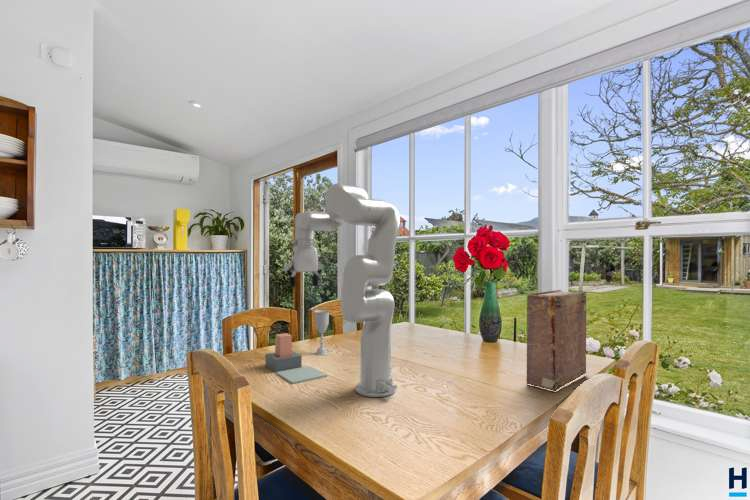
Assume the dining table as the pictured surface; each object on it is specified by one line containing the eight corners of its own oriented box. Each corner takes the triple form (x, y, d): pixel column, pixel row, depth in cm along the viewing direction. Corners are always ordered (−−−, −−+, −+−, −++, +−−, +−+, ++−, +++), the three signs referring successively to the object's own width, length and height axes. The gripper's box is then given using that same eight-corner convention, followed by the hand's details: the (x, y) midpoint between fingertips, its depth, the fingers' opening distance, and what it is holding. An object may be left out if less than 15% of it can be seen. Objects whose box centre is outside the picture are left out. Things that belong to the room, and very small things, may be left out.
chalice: (328, 355, 159) (328, 312, 159) (312, 355, 159) (312, 312, 160) (330, 351, 167) (331, 310, 167) (315, 351, 167) (315, 309, 167)
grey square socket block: (301, 367, 143) (301, 355, 143) (276, 372, 137) (276, 359, 137) (289, 361, 151) (290, 350, 151) (265, 365, 145) (265, 353, 145)
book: (559, 370, 142) (560, 289, 142) (586, 376, 135) (586, 291, 136) (526, 385, 125) (526, 294, 126) (554, 393, 119) (555, 296, 119)
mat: (327, 376, 133) (327, 374, 133) (292, 384, 125) (292, 382, 125) (309, 367, 143) (309, 365, 143) (276, 373, 135) (276, 372, 135)
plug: (291, 367, 143) (291, 335, 144) (280, 369, 141) (280, 336, 141) (286, 364, 147) (286, 333, 147) (275, 366, 144) (275, 334, 144)
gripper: (288, 243, 146) (287, 288, 146) (328, 244, 156) (327, 286, 156) (280, 243, 152) (279, 286, 152) (319, 244, 162) (318, 284, 162)
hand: (304, 286), depth 154 cm, fingers open, 9 cm apart
